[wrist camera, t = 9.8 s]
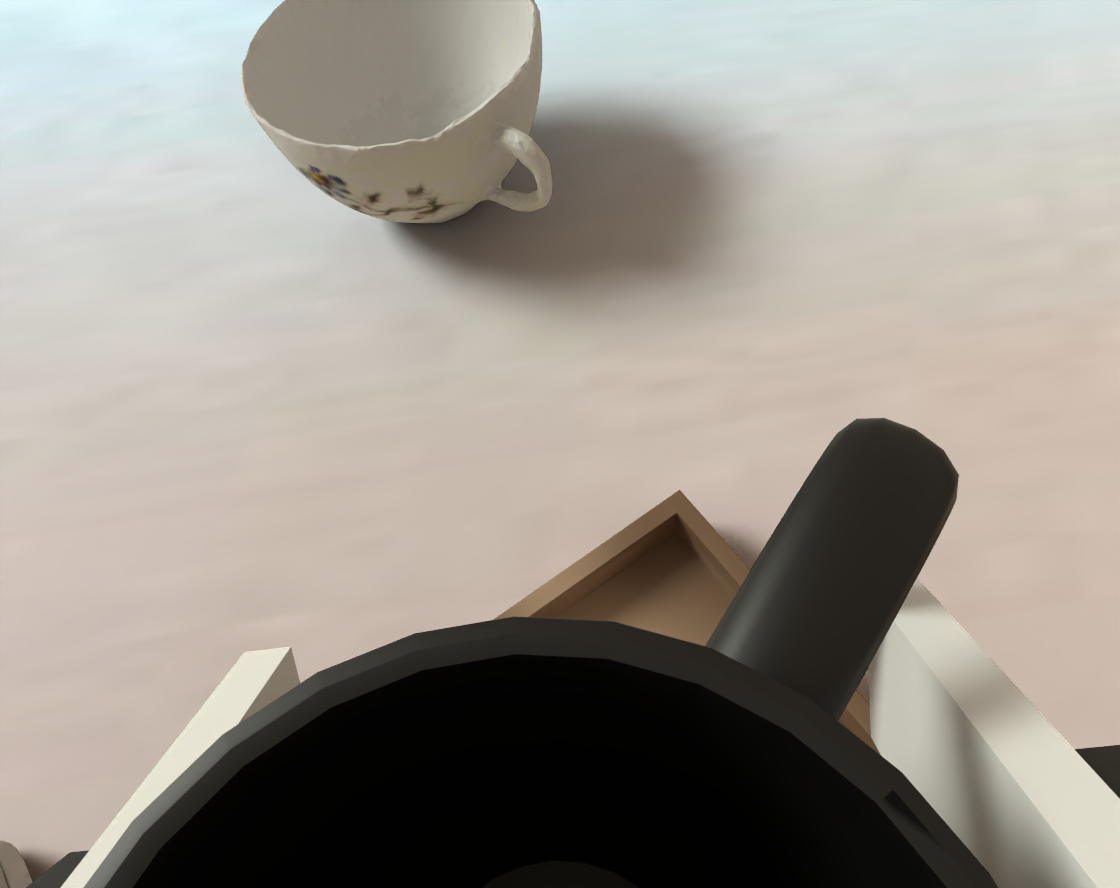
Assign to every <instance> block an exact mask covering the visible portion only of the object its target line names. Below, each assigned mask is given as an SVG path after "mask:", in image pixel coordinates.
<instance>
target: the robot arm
mask: <svg viewBox="0 0 1120 888" xmlns="http://www.w3.org/2000/svg"><path fill="white" fill-rule="evenodd" d="M868 683H869V704H870V725H871V738H872V740H873V741H874V743H875V745H876V747H877V749H878V751H879V752H880V754H881V756H882V757H883V758H885V759H886V760H887V761H888V762H890V763H891V764H892V765H893V766H895V767H896V768H897V769H898V770H900V771H901V772H902V773H903V774H904V775H905V776H906V777H907V779H908V780H909V781H910V782H911V783H912V784H913V786H914V787H915V788H916V789H917V790H918V791H919V792H920V794H921V795H922V796H923V797H924V798H925V799H926V801H927V802H928V803H929V804H930V805H931V806H932V807H933V809H934V810H935V811H936V812H937V813H938V814H939V816H940V817H941V818H942V819H943V820H944V821H945V822H946V824H947V825H948V826H949V827H950V828H951V829H952V831H953V832H954V833H955V834H956V835H957V836H958V838H959V839H960V840H961V841H962V842H963V843H964V844H965V846H966V847H967V848H968V849H969V850H970V851H971V853H972V854H973V855H974V856H975V857H976V858H977V859H978V861H979V862H980V863H981V864H982V865H983V866H984V868H985V869H986V870H987V871H988V872H989V873H990V875H991V877H992V878H993V880H994V882H995V883H996V885H997V887H998V888H1120V745H1114V746H1104V747H1094V748H1084V749H1074V748H1073V747H1072V746H1071V745H1070V744H1069V743H1068V742H1067V741H1066V740H1065V739H1064V738H1063V736H1062V735H1061V734H1060V733H1059V732H1058V731H1057V730H1056V729H1055V728H1054V727H1053V726H1052V724H1051V723H1050V722H1049V721H1048V720H1047V719H1046V718H1045V717H1044V716H1043V715H1042V714H1041V713H1040V711H1039V710H1038V709H1037V708H1036V707H1035V706H1034V705H1033V704H1032V703H1031V702H1030V701H1029V699H1028V698H1027V697H1026V696H1025V695H1024V694H1023V693H1022V692H1021V691H1020V690H1019V689H1018V687H1017V686H1016V685H1015V684H1014V683H1013V682H1012V681H1011V680H1010V679H1009V678H1008V677H1007V675H1006V674H1005V673H1004V672H1003V671H1002V670H1001V669H1000V668H999V667H998V666H997V665H996V663H995V662H994V661H993V660H992V659H991V658H990V657H989V656H988V655H987V654H986V653H985V651H984V650H983V649H982V648H981V647H980V646H979V645H978V644H977V643H976V642H975V641H974V639H973V638H972V637H971V636H970V635H969V634H968V633H967V632H966V631H965V630H964V629H963V627H962V626H961V625H960V624H959V623H958V622H957V621H956V620H955V619H954V618H953V617H952V615H951V614H950V613H949V612H948V611H947V610H946V609H945V608H944V607H943V606H942V605H941V603H940V602H939V601H938V600H937V599H936V598H935V597H934V596H933V595H932V594H931V593H930V591H929V590H928V589H927V588H926V587H925V586H924V585H923V584H922V583H921V582H920V581H919V579H918V578H917V579H916V580H915V582H914V584H913V586H912V588H911V590H910V592H909V594H908V595H907V597H906V599H905V601H904V603H903V605H902V607H901V608H900V610H899V612H898V614H897V616H896V618H895V620H894V621H893V623H892V625H891V627H890V629H889V631H888V632H887V634H886V636H885V638H884V640H883V642H882V643H881V645H880V647H879V649H878V651H877V653H876V654H875V656H874V658H873V660H872V662H871V663H870V665H869V667H868ZM299 684H300V681H299V677H298V673H297V669H296V665H295V661H294V657H293V653H292V649H291V647H283V648H274V649H266V650H257V651H248V652H244V653H243V655H242V656H241V657H240V658H239V660H238V661H237V662H236V664H235V665H234V666H233V667H232V669H231V670H230V671H229V673H228V674H227V675H226V676H225V678H224V679H223V680H222V682H221V683H220V684H219V685H218V687H217V688H216V689H215V690H214V692H213V693H212V694H211V696H210V697H209V698H208V699H207V701H206V702H205V703H204V705H203V706H202V707H201V708H200V710H199V711H198V712H197V714H196V715H195V716H194V717H193V719H192V720H191V721H190V722H189V724H188V725H187V726H186V728H185V729H184V730H183V731H182V733H181V734H180V735H179V737H178V738H177V739H176V740H175V742H174V743H173V744H172V745H171V747H170V748H169V749H168V751H167V752H166V753H165V754H164V756H163V757H162V758H161V760H160V761H159V762H158V763H157V765H156V766H155V767H154V769H153V770H152V771H151V772H150V774H149V775H148V776H147V777H146V779H145V780H144V781H143V783H142V784H141V785H140V786H139V788H138V789H137V790H136V792H135V793H134V794H133V795H132V797H131V798H130V799H129V801H128V802H127V803H126V804H125V806H124V807H123V808H122V809H121V811H120V812H119V813H118V815H117V816H116V817H115V818H114V820H113V821H112V822H111V824H110V825H109V826H108V827H107V829H106V830H105V831H104V833H103V834H102V835H101V836H100V838H99V839H98V840H97V841H96V843H95V844H94V845H93V847H92V848H91V849H90V850H89V851H80V852H70V853H69V854H68V855H66V856H65V857H64V858H62V859H61V860H60V861H59V862H57V863H56V864H55V865H54V866H52V867H51V868H50V869H49V870H47V871H46V872H45V873H44V874H42V875H41V876H40V877H39V878H37V879H36V880H35V881H34V882H32V883H31V884H30V885H29V886H27V887H26V888H84V886H85V885H86V884H87V882H88V881H89V879H90V878H91V877H92V875H93V874H94V873H95V871H96V870H97V869H98V867H99V866H100V864H101V863H102V862H103V860H104V859H105V858H106V856H107V855H108V854H109V852H110V851H111V849H112V848H113V847H114V845H115V844H116V843H117V841H118V840H119V839H120V837H121V836H122V834H123V833H124V832H125V830H126V829H127V828H128V826H129V825H130V824H131V822H132V821H133V820H134V819H135V818H136V817H137V816H138V815H139V814H140V813H141V812H142V811H143V810H144V809H145V808H147V807H148V806H149V805H150V804H151V803H152V802H153V801H154V800H155V799H156V798H157V797H158V796H159V795H160V794H161V793H162V792H163V791H164V790H165V789H166V788H167V787H168V786H169V785H170V784H172V783H173V782H174V781H175V780H176V779H177V778H178V777H179V776H180V775H181V774H182V773H183V772H184V771H185V770H186V769H187V768H188V767H189V766H190V765H191V764H192V763H193V762H194V761H195V760H197V759H198V758H199V757H200V756H201V755H202V754H203V753H204V752H205V751H206V750H207V749H208V748H209V747H210V746H211V745H212V744H213V743H214V742H215V741H216V740H217V739H218V738H219V737H220V736H222V735H223V734H224V733H226V732H227V731H229V730H230V729H232V728H233V727H235V726H236V725H238V724H239V723H241V722H242V721H244V720H246V719H247V718H249V717H250V716H252V715H253V714H255V713H256V712H258V711H259V710H261V709H262V708H264V707H265V706H267V705H268V704H270V703H271V702H273V701H275V700H276V699H278V698H279V697H281V696H282V695H284V694H285V693H287V692H288V691H290V690H291V689H293V688H294V687H296V686H297V685H299Z"/></svg>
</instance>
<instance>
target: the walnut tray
mask: <svg viewBox="0 0 1120 888" xmlns="http://www.w3.org/2000/svg"><path fill="white" fill-rule="evenodd" d="M749 572H750V569H749V568H748V567H747V566H746V564H745V563H744V562H743V561H742V560H741V559H740V558H739V557H738V555H737V554H736V553H735V552H734V551H733V550H732V549H731V547H730V546H729V545H728V544H727V543H726V542H725V541H724V540H723V538H722V537H721V536H720V535H719V534H718V533H717V532H716V530H715V529H714V528H713V527H712V526H711V525H710V524H709V523H708V521H707V520H706V519H705V518H704V517H703V516H702V515H701V514H700V512H699V511H698V510H697V509H696V508H695V507H694V506H693V504H692V503H691V502H690V501H689V500H688V499H687V498H686V497H685V495H684V494H683V493H682V492H681V491H680V490H679V491H677V492H676V493H674V494H673V495H672V496H670V497H669V498H667V499H666V500H664V501H663V502H662V503H660V504H659V505H657V506H656V507H654V508H653V509H652V510H650V511H649V512H647V513H646V514H644V515H643V516H641V517H640V518H639V519H637V520H636V521H634V522H633V523H631V524H630V525H629V526H627V527H626V528H624V529H623V530H621V531H620V532H619V533H617V534H616V535H614V536H613V537H611V538H610V539H608V540H607V541H606V542H604V543H603V544H601V545H600V546H598V547H597V548H596V549H594V550H593V551H591V552H590V553H588V554H587V555H586V556H584V557H583V558H581V559H580V560H578V561H577V562H575V563H574V564H573V565H571V566H570V567H568V568H567V569H565V570H564V571H563V572H561V573H560V574H558V575H557V576H555V577H554V578H553V579H551V580H550V581H548V582H547V583H545V584H544V585H543V586H541V587H540V588H538V589H537V590H535V591H534V592H532V593H531V594H530V595H528V596H527V597H525V598H524V599H522V600H521V601H520V602H518V603H517V604H515V605H514V606H512V607H511V608H510V609H508V610H507V611H505V612H504V613H502V614H501V615H499V616H498V617H497V618H495V619H494V620H497V619H503V618H509V617H536V618H557V619H578V620H598V621H614V622H618V623H622V624H625V625H629V626H633V627H636V628H640V629H644V630H648V631H651V632H655V633H659V634H662V635H666V636H670V637H673V638H677V639H681V640H684V641H688V642H692V643H695V644H699V645H703V646H705V645H706V643H707V642H708V640H709V638H710V637H711V635H712V633H713V632H714V630H715V628H716V627H717V625H718V623H719V622H720V620H721V618H722V617H723V615H724V613H725V612H726V610H727V608H728V607H729V605H730V603H731V602H732V600H733V598H734V597H735V595H736V593H737V592H738V590H739V588H740V587H741V585H742V583H743V582H744V580H745V578H746V577H747V575H748V573H749ZM838 722H839V723H841V724H842V725H843V726H844V727H846V728H847V729H848V730H850V731H851V732H852V733H853V734H855V735H856V736H857V737H858V738H860V739H861V740H862V741H863V742H865V743H866V744H867V745H868V746H870V747H871V748H872V749H873V750H875V751H876V752H877V753H878V754H880V752H879V751H878V749H877V747H876V745H875V743H874V741H873V740H872V738H871V725H870V705H869V704H868V703H867V701H866V700H865V699H864V698H863V697H862V696H861V695H860V693H859V692H858V691H857V690H856V691H855V692H854V694H853V696H852V698H851V699H850V701H849V703H848V705H847V707H846V708H845V710H844V712H843V714H842V716H841V717H840V719H839V721H838ZM880 755H881V754H880Z"/></svg>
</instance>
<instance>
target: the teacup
mask: <svg viewBox="0 0 1120 888" xmlns="http://www.w3.org/2000/svg"><path fill="white" fill-rule="evenodd" d="M541 71H542V34H541V22H540V11H539V10H538V8H537V4H536V3H535V2H534V0H285V1H284V2H283V3H282V4H280V5H279V6H278V7H277V8H276V9H275V10H274V11H273V12H272V14H271V15H270V16H269V17H268V19H267V20H266V21H265V22H264V23H263V24H262V25H261V26H260V28H259V29H258V31H257V33H256V34H255V36H254V38H253V40H252V41H251V43H250V45H249V48H248V50H247V56H246V58H245V60H244V61H243V63H242V66H241V87H242V91H243V95H244V98H245V104H246V105H247V107H248V109H249V110H250V112H251V113H252V115H253V116H254V117H255V119H256V120H257V122H258V123H259V125H260V126H261V127H262V129H263V130H264V131H265V133H266V134H267V135H268V136H269V138H270V139H271V140H272V142H273V143H274V144H275V145H276V147H277V148H278V149H279V150H280V151H281V152H282V154H283V155H284V156H285V157H286V158H287V159H288V160H289V161H290V163H291V164H292V165H293V166H294V167H295V168H296V169H297V170H298V171H299V172H300V173H301V174H303V175H304V176H305V177H306V178H307V179H308V180H309V181H310V182H311V183H313V184H314V185H315V186H316V187H318V188H319V189H320V190H322V191H323V192H324V193H326V194H327V195H329V196H330V197H332V198H334V199H335V200H337V201H339V202H340V203H342V204H344V205H346V206H348V207H350V208H352V209H354V210H356V211H359V212H362V213H364V214H367V215H369V216H373V217H376V218H380V219H384V220H388V221H394V222H403V223H442V222H446V221H448V220H451V219H453V218H456V217H459V216H461V215H463V214H465V213H467V212H468V211H469V210H470V209H471V208H473V207H474V206H475V205H476V204H477V203H479V202H481V201H484V200H493V201H495V202H497V203H499V204H501V205H504V206H506V207H508V208H511V209H513V210H517V211H528V212H531V211H534V210H537V209H540V208H543V207H545V206H546V205H547V204H548V202H549V200H550V198H551V194H552V175H551V169H550V162H549V159H548V158H547V157H546V155H545V154H544V153H543V151H542V150H541V149H540V147H539V146H538V145H537V144H536V142H535V141H534V140H533V139H532V138H531V137H530V136H529V133H530V130H531V127H532V123H533V120H534V117H535V114H536V108H537V103H538V98H539V91H540V83H541ZM517 159H519V160H520V162H521V163H522V164H523V165H524V166H526V167H527V168H528V169H529V170H530V171H531V172H532V173H533V174H534V177H535V180H536V183H537V190H535V191H534V192H532V193H520V192H517V191H513V190H510V191H508V190H505V189H502V187H501V183H502V180H503V179H504V178H505V177H506V176H507V174H508V173H509V172H510V170H511V169H512V167H513V166H514V164H515V163H516V161H517Z"/></svg>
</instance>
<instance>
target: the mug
mask: <svg viewBox="0 0 1120 888" xmlns="http://www.w3.org/2000/svg"><path fill="white" fill-rule="evenodd" d="M958 477H959V474H958V473H957V471H956V469H955V468H954V466H953V465H952V463H951V461H950V460H949V458H948V456H947V455H946V453H945V452H944V450H943V449H941V448H940V447H939V446H937V445H936V444H935V443H933V442H932V441H931V440H929V439H928V438H926V437H925V436H924V435H922V434H921V433H920V432H918V431H917V430H915V429H912V428H910V427H907V426H904V425H902V424H899V423H896V422H894V421H891V420H888V419H885V418H870V419H856V420H854V421H853V422H852V423H850V424H849V425H848V426H846V427H845V428H844V429H842V430H841V431H840V432H838V433H837V435H836V436H835V437H834V438H833V440H832V441H831V443H830V444H829V445H828V447H827V448H826V450H825V451H824V453H823V454H822V456H821V457H820V459H819V460H818V462H817V463H816V465H815V466H814V468H813V470H812V471H811V473H810V474H809V476H808V477H807V479H806V481H805V482H804V484H803V485H802V487H801V488H800V490H799V492H798V493H797V495H796V496H795V498H794V500H793V501H792V503H791V505H790V506H789V508H788V509H787V511H786V513H785V514H784V516H783V517H782V519H781V521H780V522H779V524H778V526H777V527H776V529H775V531H774V532H773V534H772V535H771V537H770V539H769V540H768V542H767V544H766V545H765V547H764V549H763V550H762V552H761V554H760V555H759V557H758V558H757V560H756V562H755V563H754V565H753V567H752V568H751V570H750V572H749V573H748V575H747V577H746V578H745V580H744V582H743V583H742V585H741V587H740V588H739V590H738V592H737V593H736V595H735V597H734V598H733V600H732V602H731V603H730V605H729V607H728V608H727V610H726V612H725V613H724V615H723V617H722V618H721V620H720V622H719V623H718V625H717V627H716V628H715V630H714V632H713V633H712V635H711V637H710V638H709V640H708V642H707V643H706V645H705V646H703V645H699V644H695V643H692V642H688V641H684V640H681V639H677V638H673V637H670V636H666V635H662V634H659V633H655V632H651V631H648V630H644V629H640V628H636V627H633V626H629V625H625V624H622V623H618V622H614V621H598V620H578V619H557V618H536V617H509V618H503V619H497V620H491V621H485V622H480V623H474V624H468V625H462V626H456V627H450V628H444V629H439V630H433V631H427V632H421V633H415V634H412V635H410V636H407V637H405V638H402V639H400V640H397V641H395V642H392V643H390V644H387V645H385V646H382V647H380V648H377V649H375V650H372V651H370V652H367V653H365V654H362V655H360V656H357V657H355V658H352V659H350V660H347V661H345V662H342V663H340V664H337V665H335V666H332V667H330V668H327V669H325V670H322V671H320V672H317V673H316V674H314V675H313V676H311V677H310V678H308V679H307V680H305V681H304V682H302V683H301V684H299V685H297V686H296V687H294V688H293V689H291V690H290V691H288V692H287V693H285V694H284V695H282V696H281V697H279V698H278V699H276V700H275V701H273V702H271V703H270V704H268V705H267V706H265V707H264V708H262V709H261V710H259V711H258V712H256V713H255V714H253V715H252V716H250V717H249V718H247V719H246V720H244V721H242V722H241V723H239V724H238V725H236V726H235V727H233V728H232V729H230V730H229V731H227V732H226V733H224V734H223V735H222V736H220V737H219V738H218V739H217V740H216V741H215V742H214V743H213V744H212V745H211V746H210V747H209V748H208V749H207V750H206V751H205V752H204V753H203V754H202V755H201V756H200V757H199V758H198V759H197V760H195V761H194V762H193V763H192V764H191V765H190V766H189V767H188V768H187V769H186V770H185V771H184V772H183V773H182V774H181V775H180V776H179V777H178V778H177V779H176V780H175V781H174V782H173V783H172V784H170V785H169V786H168V787H167V788H166V789H165V790H164V791H163V792H162V793H161V794H160V795H159V796H158V797H157V798H156V799H155V800H154V801H153V802H152V803H151V804H150V805H149V806H148V807H147V808H145V809H144V810H143V811H142V812H141V813H140V814H139V815H138V816H137V817H136V818H135V819H134V820H133V821H132V822H131V824H130V825H129V826H128V828H127V829H126V830H125V832H124V833H123V834H122V836H121V837H120V839H119V840H118V841H117V843H116V844H115V845H114V847H113V848H112V849H111V851H110V852H109V854H108V855H107V856H106V858H105V859H104V860H103V862H102V863H101V864H100V866H99V867H98V869H97V870H96V871H95V873H94V874H93V875H92V877H91V878H90V879H89V881H88V882H87V884H86V885H85V886H84V888H998V887H997V885H996V883H995V882H994V880H993V878H992V877H991V875H990V873H989V872H988V871H987V870H986V869H985V868H984V866H983V865H982V864H981V863H980V862H979V861H978V859H977V858H976V857H975V856H974V855H973V854H972V853H971V851H970V850H969V849H968V848H967V847H966V846H965V844H964V843H963V842H962V841H961V840H960V839H959V838H958V836H957V835H956V834H955V833H954V832H953V831H952V829H951V828H950V827H949V826H948V825H947V824H946V822H945V821H944V820H943V819H942V818H941V817H940V816H939V814H938V813H937V812H936V811H935V810H934V809H933V807H932V806H931V805H930V804H929V803H928V802H927V801H926V799H925V798H924V797H923V796H922V795H921V794H920V792H919V791H918V790H917V789H916V788H915V787H914V786H913V784H912V783H911V782H910V781H909V780H908V779H907V777H906V776H905V775H904V774H903V773H902V772H901V771H900V770H898V769H897V768H896V767H895V766H893V765H892V764H891V763H890V762H888V761H887V760H886V759H885V758H883V757H882V756H881V755H880V754H878V753H877V752H876V751H875V750H873V749H872V748H871V747H870V746H868V745H867V744H866V743H865V742H863V741H862V740H861V739H860V738H858V737H857V736H856V735H855V734H853V733H852V732H851V731H850V730H848V729H847V728H846V727H844V726H843V725H842V724H841V723H839V722H838V721H839V719H840V717H841V716H842V714H843V712H844V710H845V708H846V707H847V705H848V703H849V701H850V699H851V698H852V696H853V694H854V692H855V691H856V689H857V687H858V685H859V683H860V682H861V680H862V678H863V676H864V674H865V673H866V671H867V669H868V667H869V665H870V663H871V662H872V660H873V658H874V656H875V654H876V653H877V651H878V649H879V647H880V645H881V643H882V642H883V640H884V638H885V636H886V634H887V632H888V631H889V629H890V627H891V625H892V623H893V621H894V620H895V618H896V616H897V614H898V612H899V610H900V608H901V607H902V605H903V603H904V601H905V599H906V597H907V595H908V594H909V592H910V590H911V588H912V586H913V584H914V582H915V580H916V579H917V577H918V575H919V573H920V571H921V569H922V567H923V565H924V564H925V562H926V560H927V558H928V556H929V554H930V552H931V550H932V548H933V546H934V544H935V542H936V541H937V539H938V537H939V535H940V533H941V531H942V529H943V527H944V525H945V523H946V521H947V519H948V517H949V515H950V513H951V510H952V508H953V506H954V504H955V501H956V497H957V486H958Z"/></svg>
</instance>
